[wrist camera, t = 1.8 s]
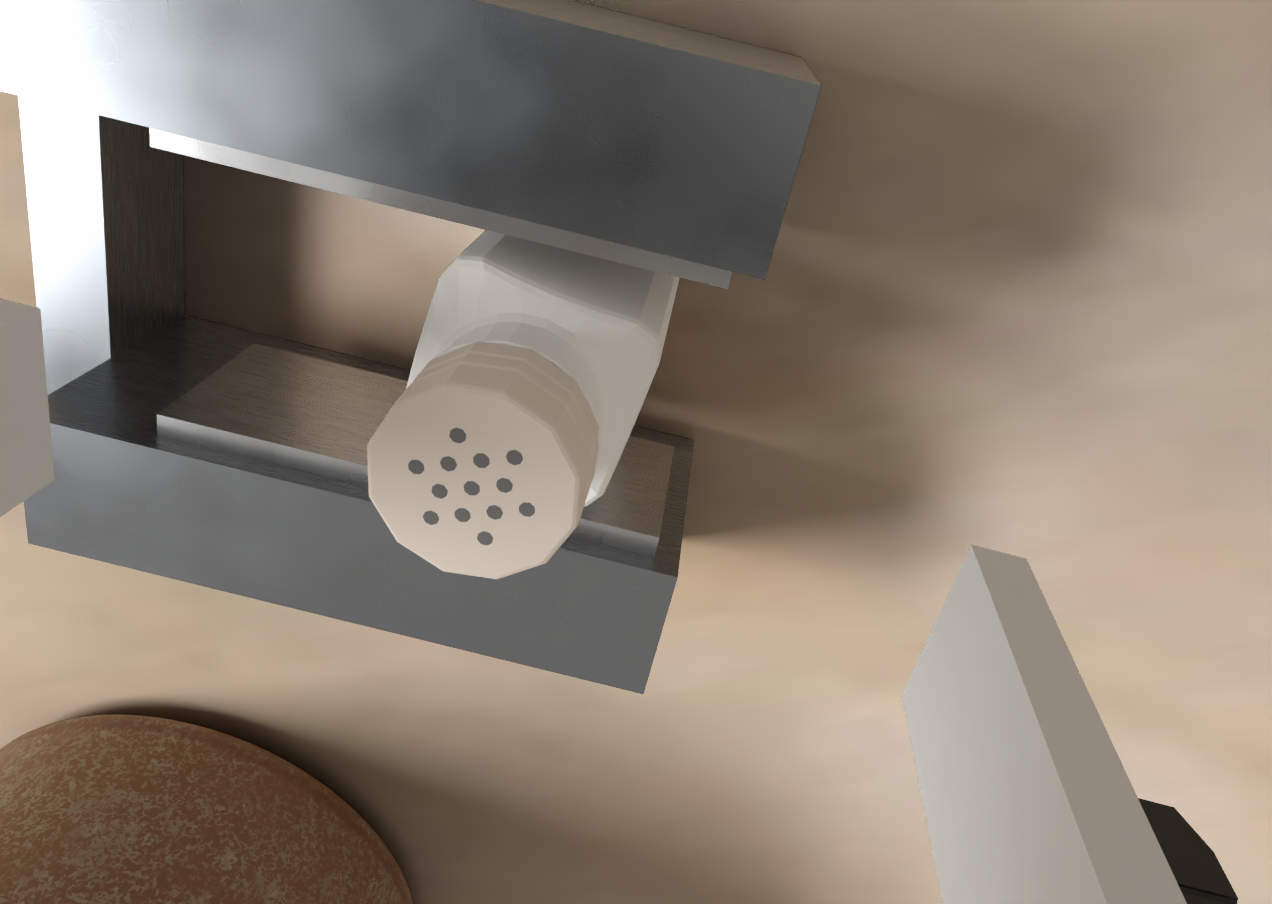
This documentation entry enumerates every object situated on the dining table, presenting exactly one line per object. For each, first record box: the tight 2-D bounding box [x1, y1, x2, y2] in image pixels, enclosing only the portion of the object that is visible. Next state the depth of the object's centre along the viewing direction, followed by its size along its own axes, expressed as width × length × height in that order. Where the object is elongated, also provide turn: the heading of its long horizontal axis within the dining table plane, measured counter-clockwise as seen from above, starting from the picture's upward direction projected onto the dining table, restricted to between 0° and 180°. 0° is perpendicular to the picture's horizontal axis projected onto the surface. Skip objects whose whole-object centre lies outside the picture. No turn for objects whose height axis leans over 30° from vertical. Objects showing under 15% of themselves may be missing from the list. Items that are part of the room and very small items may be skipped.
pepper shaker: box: [367, 230, 679, 579], centre depth 18 cm, size 4×4×10 cm
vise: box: [0, 0, 821, 694], centre depth 19 cm, size 15×12×6 cm
